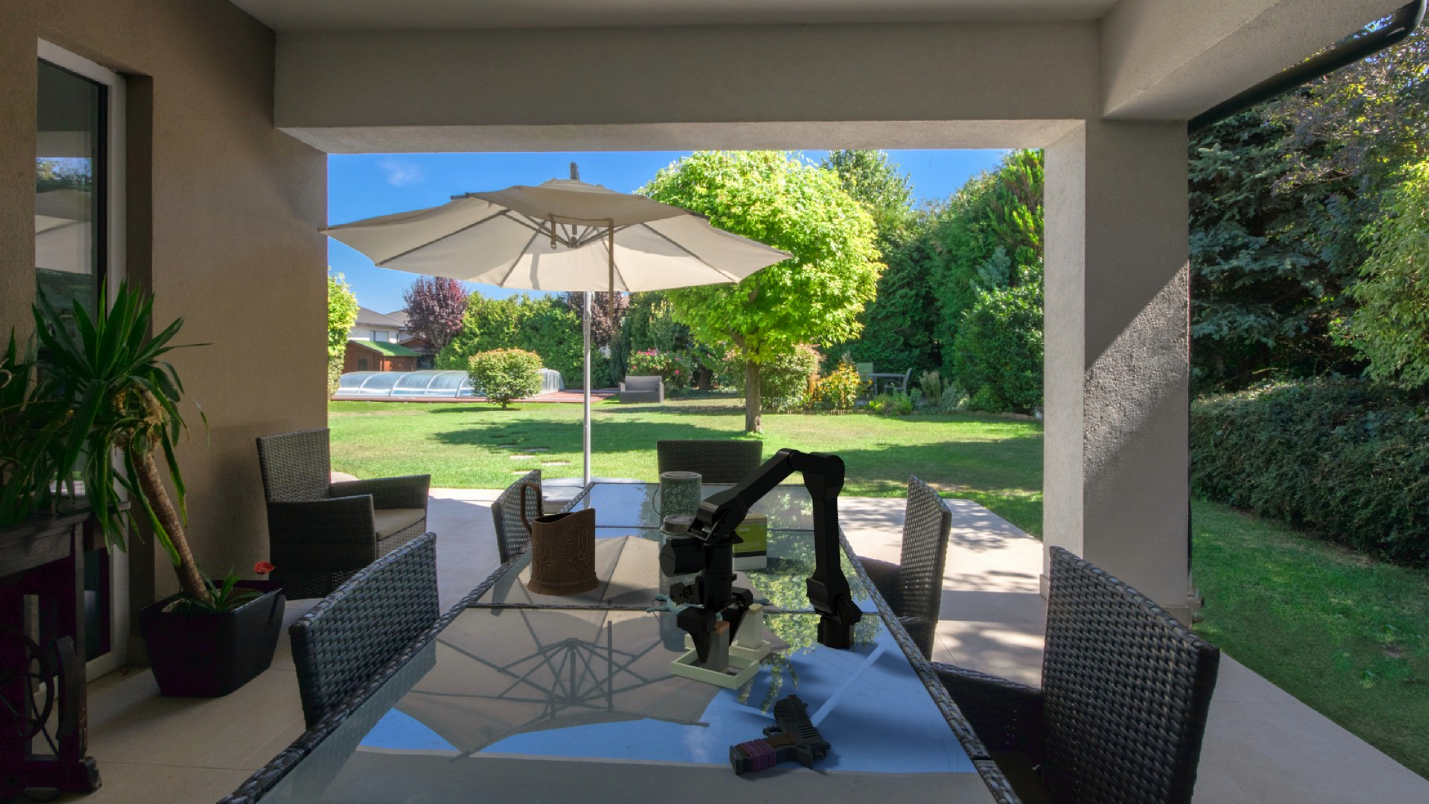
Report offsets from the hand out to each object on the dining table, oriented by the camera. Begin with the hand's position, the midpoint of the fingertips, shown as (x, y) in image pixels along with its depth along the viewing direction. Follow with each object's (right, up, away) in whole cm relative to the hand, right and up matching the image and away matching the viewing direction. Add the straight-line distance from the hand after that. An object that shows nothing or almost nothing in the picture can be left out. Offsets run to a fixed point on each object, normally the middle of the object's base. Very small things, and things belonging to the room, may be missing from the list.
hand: (715, 654), depth 137 cm
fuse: (+7, -3, +9) cm, 12 cm away
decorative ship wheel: (-1, -3, +39) cm, 39 cm away
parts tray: (0, -4, 0) cm, 4 cm away
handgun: (+9, -6, -22) cm, 24 cm away
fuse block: (+2, -4, +11) cm, 12 cm away
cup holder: (-41, -1, +58) cm, 71 cm away
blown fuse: (0, -4, 0) cm, 4 cm away
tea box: (+8, -1, +79) cm, 80 cm away
